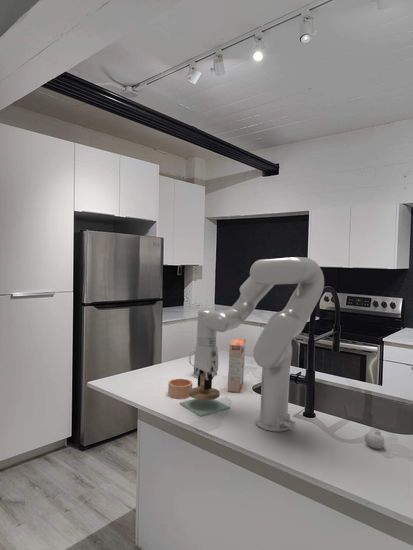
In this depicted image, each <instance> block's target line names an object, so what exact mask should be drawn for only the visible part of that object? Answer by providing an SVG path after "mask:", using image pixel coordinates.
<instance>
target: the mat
mask: <svg viewBox="0 0 413 550" xmlns="http://www.w3.org/2000/svg"><path fill="white" fill-rule="evenodd" d="M179 405H180V406H182V407H184V408H185V409H187V410H188V411H190V412H192V413H194V414H195V415H197V416H199V417H203V416H208V415H212V414H216V413H219V412H223V411H225V410H229V409H231V407H230V406H228V405H227V404H225V403H223V402H221V401H219V400H218V399H212V400H199V399H195V398H193V399H190V400H189V399H188V400H185V401H181V402H179Z"/></svg>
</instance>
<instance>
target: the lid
mask: <svg viewBox="0 0 413 550" xmlns="http://www.w3.org/2000/svg"><path fill="white" fill-rule="evenodd" d="M209 375H210V374H208V376H209ZM204 380H206V376H205V373H201V374H200V387H198V386H197V387H192V389H190V390H189V396H190V397H191V398H193V399H199V400H212V399H215V400H217V399H218V398H219V397H220V395H221V394H220V391H219V390H218V389H216V388H214V387H212V388H211V389H209V390H204Z"/></svg>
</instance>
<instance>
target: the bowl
mask: <svg viewBox="0 0 413 550" xmlns="http://www.w3.org/2000/svg"><path fill="white" fill-rule="evenodd" d="M167 385H168V387H167V389H168V390H167V394H168V395H167V396H169V397H170V398H173V399H179V400H180V399H181V400H184V399H187V398H190V397H191V396H189V390H190V389H192V388H193V381H192V380H190V379H186V378H174V379H170V380H169V381H168V383H167Z"/></svg>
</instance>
